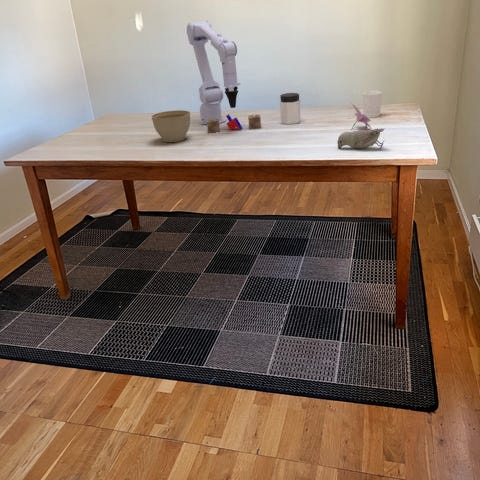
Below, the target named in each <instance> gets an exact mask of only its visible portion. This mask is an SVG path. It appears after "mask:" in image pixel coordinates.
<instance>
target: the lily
mask: <svg viewBox="0 0 480 480" xmlns="http://www.w3.org/2000/svg"><path fill="white" fill-rule="evenodd" d="M350 104H351V106H353V108H354V110H355V112H354V115H355V116H356V119H355V122H354V123H353V125H352V127H351V129H350V131H352V130H353V129H354V126H355V125H356V123H357V122H359V123H363V124H365V126H368V127H369V128H370V129H372V127H371V125H370V124H369V122H371V118H368V117H367V116H366V115H364V113H362V112H361V111H360V109H359V108H357V107H356V106H355V105H354V104H353V103H352V102H351V103H350Z"/></svg>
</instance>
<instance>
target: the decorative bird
mask: <svg viewBox="0 0 480 480" xmlns="http://www.w3.org/2000/svg"><path fill="white" fill-rule="evenodd" d="M385 129H386V127H384V128H375V129H364V130H355V131H344V132H342V133H340V135H339V136H338V139H337V148H338V149H341V148H342V147H345V146H348V147H350V148H351V149H352V148H353V149H364V148H369V147H372V146H374V145H377V146H378V147H380V148H379V150H381V149H382V147H383V145H384V142H385V140H382V143H381V142H380V141H379V139H378V138H380V135H381V132H384V130H385Z"/></svg>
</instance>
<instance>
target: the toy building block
mask: <svg viewBox="0 0 480 480" xmlns="http://www.w3.org/2000/svg"><path fill="white" fill-rule="evenodd" d="M225 117H226V118H227V120H228V122H227V123H226V126H227V127H228V129H229V131H230V130H231V131H232V130H234V129H236V128H237V130H238V131H240V130H241V129H242V128H243V125H242V124H241V122H240V121H239V119H238V117H234V118H232V117H231V116H230V114H227V115H225Z"/></svg>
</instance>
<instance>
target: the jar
mask: <svg viewBox="0 0 480 480" xmlns="http://www.w3.org/2000/svg"><path fill="white" fill-rule="evenodd" d="M279 98H280V101H279V109H280V110H279V111H280V123H281V124H284V125H295V124H299V123H300V122H301V99H300V94H299V93H298V92H287V93H282V94H280V97H279Z"/></svg>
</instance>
